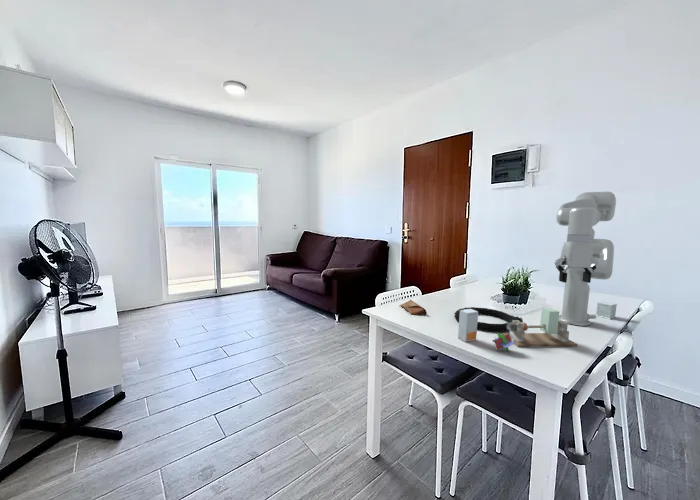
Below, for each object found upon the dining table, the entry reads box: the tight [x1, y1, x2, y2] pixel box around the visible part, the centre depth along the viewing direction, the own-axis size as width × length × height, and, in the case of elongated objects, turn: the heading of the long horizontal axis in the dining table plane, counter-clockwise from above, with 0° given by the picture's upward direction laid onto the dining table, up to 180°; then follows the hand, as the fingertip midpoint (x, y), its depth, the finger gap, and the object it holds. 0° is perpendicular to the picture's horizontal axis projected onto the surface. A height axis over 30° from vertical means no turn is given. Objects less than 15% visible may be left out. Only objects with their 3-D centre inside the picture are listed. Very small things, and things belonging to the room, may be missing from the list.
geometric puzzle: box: [492, 332, 515, 353], centre depth 110 cm, size 7×7×8 cm
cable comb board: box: [501, 320, 579, 348], centre depth 119 cm, size 25×11×8 cm, turn 93°
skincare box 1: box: [457, 309, 479, 343], centre depth 119 cm, size 6×4×12 cm
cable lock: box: [454, 306, 524, 333], centre depth 140 cm, size 28×4×30 cm
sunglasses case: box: [399, 299, 428, 316], centre depth 157 cm, size 18×7×7 cm
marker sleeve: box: [539, 307, 560, 334], centre depth 119 cm, size 4×4×9 cm
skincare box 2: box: [595, 300, 618, 319], centre depth 151 cm, size 6×6×7 cm
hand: (574, 281), depth 118 cm, fingers open, 9 cm apart
